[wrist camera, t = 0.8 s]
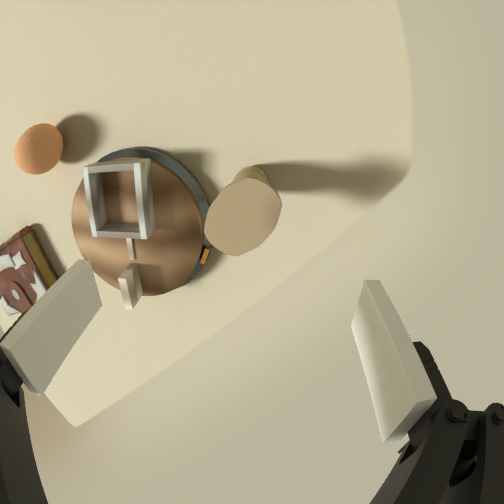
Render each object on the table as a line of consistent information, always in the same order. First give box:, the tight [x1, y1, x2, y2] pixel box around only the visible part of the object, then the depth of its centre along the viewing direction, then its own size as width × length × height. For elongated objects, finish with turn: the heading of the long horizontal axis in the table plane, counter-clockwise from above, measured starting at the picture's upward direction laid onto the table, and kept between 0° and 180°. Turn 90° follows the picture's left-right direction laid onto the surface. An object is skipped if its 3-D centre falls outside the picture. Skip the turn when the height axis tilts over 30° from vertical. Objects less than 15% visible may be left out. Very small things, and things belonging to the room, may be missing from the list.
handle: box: [204, 165, 282, 256], centre depth 28 cm, size 5×6×15 cm
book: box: [0, 226, 58, 315], centre depth 43 cm, size 23×16×5 cm
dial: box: [72, 156, 204, 310], centre depth 34 cm, size 20×20×6 cm
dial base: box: [82, 148, 211, 289], centre depth 37 cm, size 22×22×2 cm
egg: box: [15, 124, 63, 175], centre depth 29 cm, size 7×7×8 cm
